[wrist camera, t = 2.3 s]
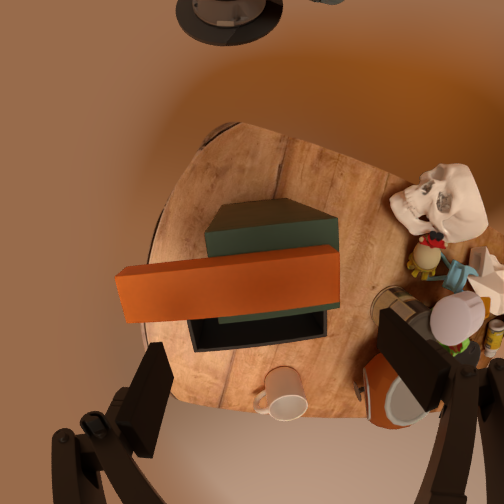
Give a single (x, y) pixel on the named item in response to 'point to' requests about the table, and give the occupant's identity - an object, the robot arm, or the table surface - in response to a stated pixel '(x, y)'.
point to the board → (469, 354)
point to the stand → (270, 238)
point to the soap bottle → (458, 317)
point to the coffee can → (404, 310)
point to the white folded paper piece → (488, 278)
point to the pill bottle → (493, 337)
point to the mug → (282, 395)
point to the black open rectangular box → (256, 331)
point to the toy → (427, 255)
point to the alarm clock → (389, 397)
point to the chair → (454, 275)
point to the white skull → (442, 204)
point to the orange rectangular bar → (230, 285)
